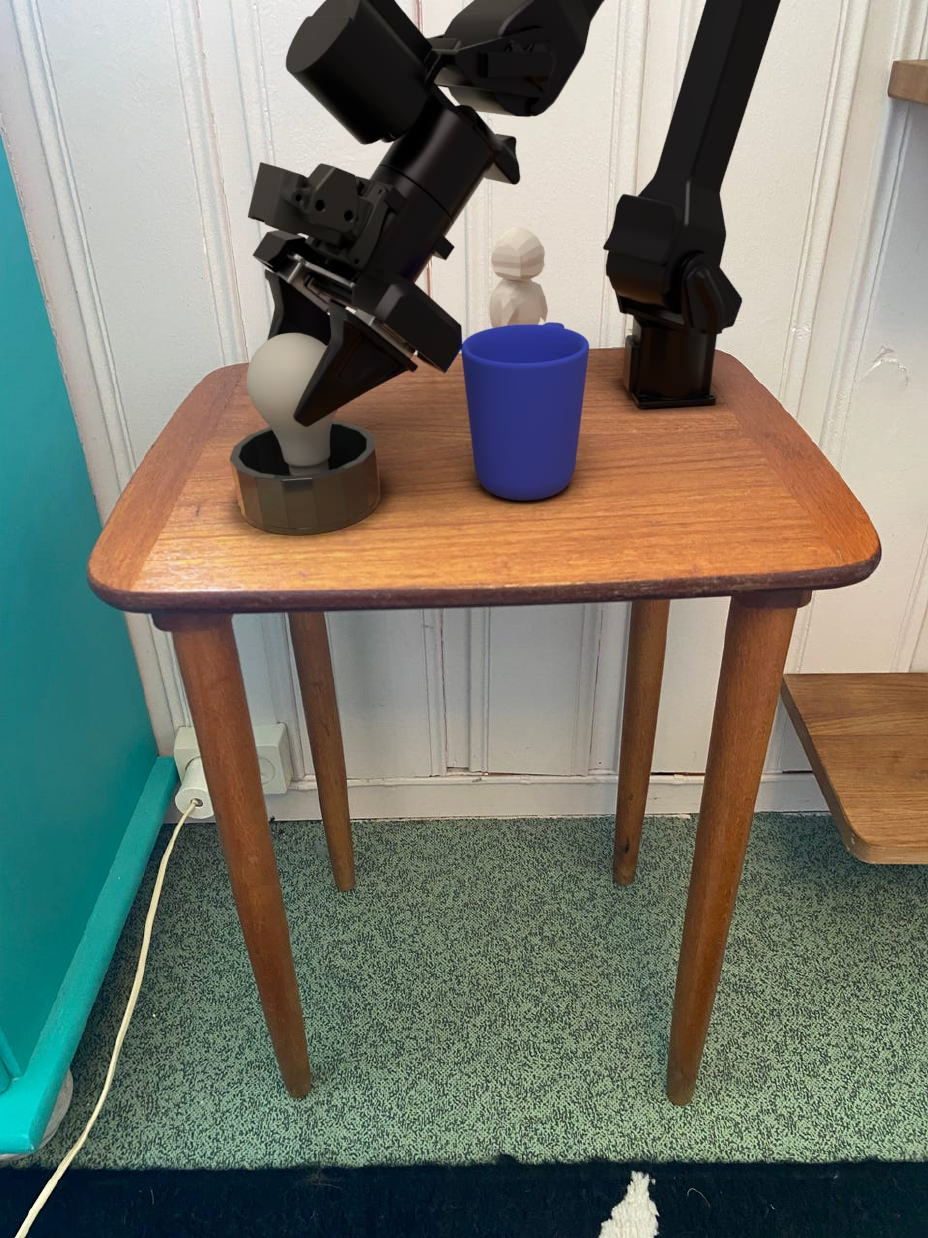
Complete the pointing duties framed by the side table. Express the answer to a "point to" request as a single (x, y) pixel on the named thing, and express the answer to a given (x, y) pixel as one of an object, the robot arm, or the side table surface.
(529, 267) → the figurine
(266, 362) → the lightbulb
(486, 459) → the mug
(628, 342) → the robot arm
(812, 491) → the side table surface
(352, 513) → the bowl
